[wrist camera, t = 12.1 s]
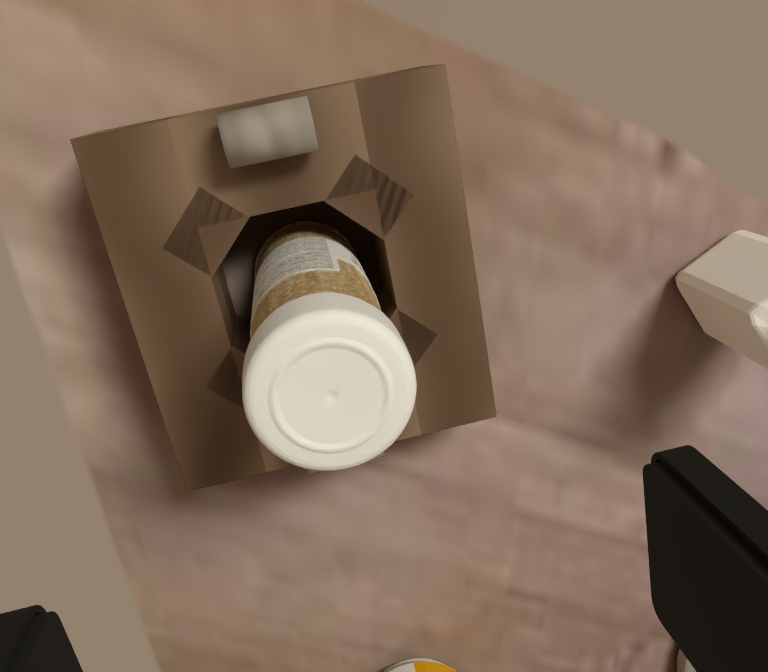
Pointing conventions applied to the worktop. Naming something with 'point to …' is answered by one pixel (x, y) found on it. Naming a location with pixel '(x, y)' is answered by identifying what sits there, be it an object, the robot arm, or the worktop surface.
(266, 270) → the sprinkles bottle
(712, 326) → the pepper shaker
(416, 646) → the worktop surface
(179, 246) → the open brown cardboard box
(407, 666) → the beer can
